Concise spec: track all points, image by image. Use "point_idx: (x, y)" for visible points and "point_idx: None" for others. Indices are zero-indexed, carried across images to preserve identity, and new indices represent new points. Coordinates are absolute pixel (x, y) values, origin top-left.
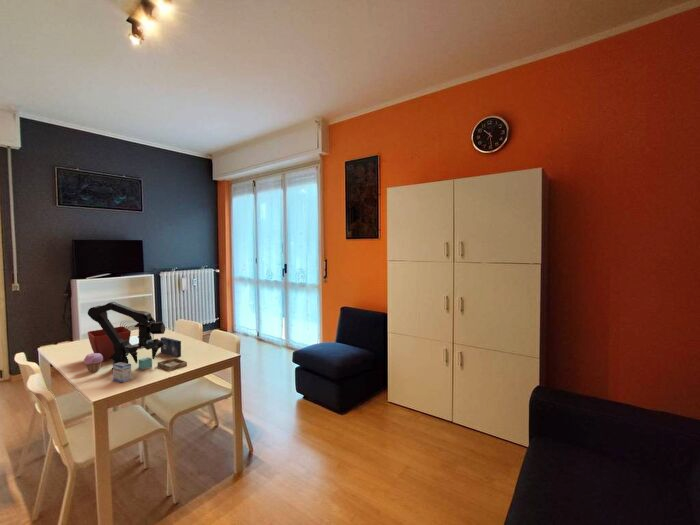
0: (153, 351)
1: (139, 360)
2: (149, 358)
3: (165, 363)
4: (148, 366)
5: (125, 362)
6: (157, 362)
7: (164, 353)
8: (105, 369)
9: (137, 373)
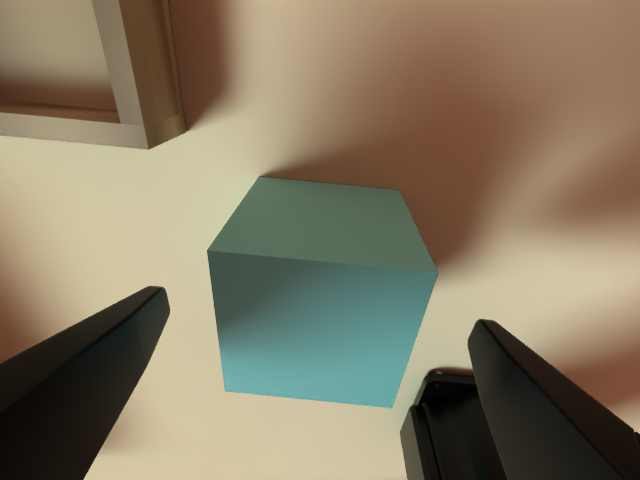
0: (25, 471)
1: (397, 372)
2: (240, 307)
3: (37, 94)
4: (312, 192)
5: (469, 457)
6: (150, 146)
7: None
8: None
9: (584, 80)
